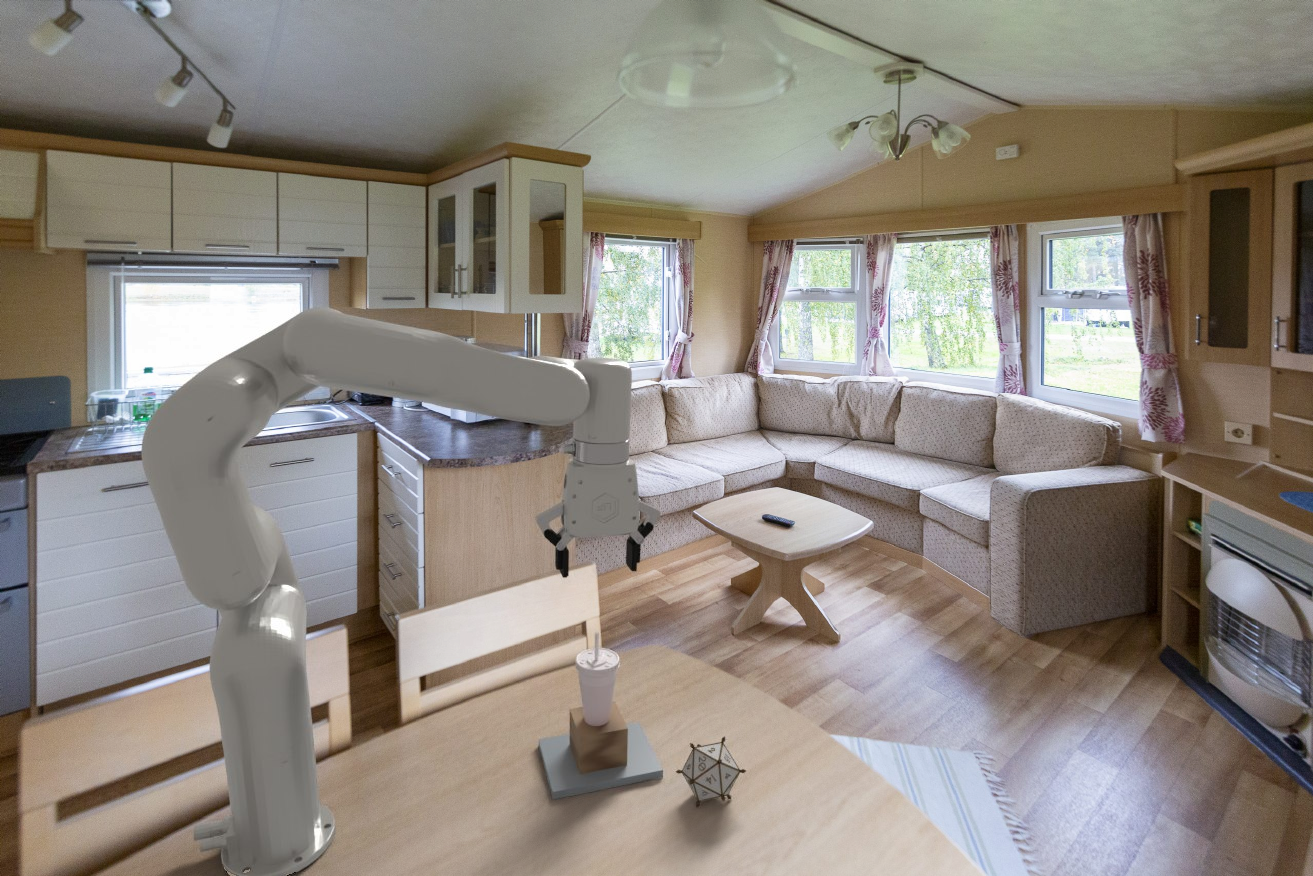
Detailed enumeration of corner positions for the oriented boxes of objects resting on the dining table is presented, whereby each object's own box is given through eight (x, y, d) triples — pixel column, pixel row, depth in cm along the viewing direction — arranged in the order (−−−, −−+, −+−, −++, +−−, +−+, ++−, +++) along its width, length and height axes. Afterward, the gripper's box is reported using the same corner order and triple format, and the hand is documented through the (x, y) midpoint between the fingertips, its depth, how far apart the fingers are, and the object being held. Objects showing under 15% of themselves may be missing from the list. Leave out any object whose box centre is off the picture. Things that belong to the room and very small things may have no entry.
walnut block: (579, 774, 102) (579, 737, 101) (569, 744, 109) (569, 709, 107) (627, 765, 105) (627, 728, 103) (614, 736, 111) (614, 701, 110)
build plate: (552, 799, 99) (552, 792, 99) (538, 746, 110) (538, 739, 110) (662, 777, 104) (663, 770, 104) (638, 728, 115) (638, 721, 115)
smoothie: (569, 728, 103) (569, 639, 100) (581, 703, 109) (582, 618, 106) (613, 734, 102) (614, 644, 99) (623, 708, 108) (624, 622, 105)
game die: (718, 827, 100) (740, 808, 93) (663, 799, 101) (680, 777, 93) (737, 766, 106) (759, 743, 99) (684, 739, 107) (702, 715, 99)
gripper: (541, 460, 90) (540, 587, 94) (671, 455, 96) (665, 576, 99) (532, 446, 97) (531, 565, 101) (653, 443, 103) (648, 556, 106)
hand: (597, 570), depth 100 cm, fingers open, 9 cm apart
